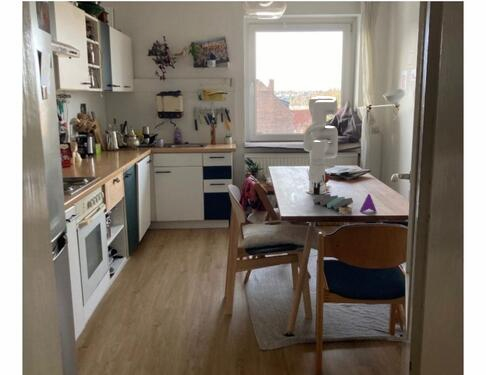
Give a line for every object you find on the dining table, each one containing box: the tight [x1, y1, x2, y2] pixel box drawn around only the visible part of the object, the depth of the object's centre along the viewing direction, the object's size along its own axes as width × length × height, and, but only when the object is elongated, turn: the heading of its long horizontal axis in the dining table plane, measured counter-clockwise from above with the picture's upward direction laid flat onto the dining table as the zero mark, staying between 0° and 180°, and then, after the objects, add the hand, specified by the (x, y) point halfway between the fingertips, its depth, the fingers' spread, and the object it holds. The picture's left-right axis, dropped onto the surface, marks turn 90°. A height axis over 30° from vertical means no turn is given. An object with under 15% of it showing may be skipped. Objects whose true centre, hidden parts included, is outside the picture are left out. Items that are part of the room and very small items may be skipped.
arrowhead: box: [359, 193, 378, 213], centre depth 233 cm, size 10×2×10 cm
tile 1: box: [312, 193, 332, 205], centre depth 248 cm, size 3×5×10 cm
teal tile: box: [326, 196, 346, 209], centre depth 238 cm, size 3×5×10 cm
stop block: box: [338, 205, 353, 215], centre depth 232 cm, size 6×3×3 cm, turn 118°
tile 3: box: [333, 197, 354, 211], centre depth 233 cm, size 3×5×10 cm
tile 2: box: [319, 194, 339, 207], centre depth 243 cm, size 3×5×10 cm
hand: (316, 194), depth 252 cm, fingers closed
